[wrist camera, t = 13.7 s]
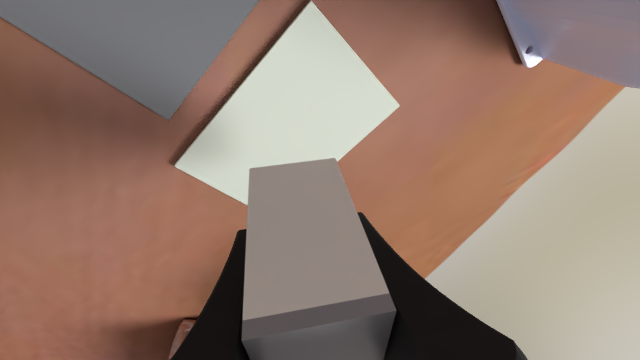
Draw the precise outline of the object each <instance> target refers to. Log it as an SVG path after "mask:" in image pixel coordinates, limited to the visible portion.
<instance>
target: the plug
mask: <svg viewBox="0 0 640 360" xmlns="http://www.w3.org/2000/svg"><path fill="white" fill-rule="evenodd" d="M395 314H396V308H395V306H394V303H393V301H392V298H391V296H390V293H389V291H388V288H387V286H386V283H385V281H384V278H383V276H382V273H381V271H380V268H379V266H378V263H377V261H376V258H375V256H374V253H373V251H372V248H371V246H370V243H369V241H368V238H367V236H366V233H365V231H364V228H363V226H362V223H361V221H360V218H359V216H358V213H357V211H356V208H355V206H354V203H353V201H352V199H351V196H350V194H349V191H348V189H347V186H346V184H345V181H344V179H343V176H342V174H341V171H340V169H339V166H338V164H337V161H336V159H335V158H329V159H321V160H313V161H305V162H297V163H289V164H281V165H273V166H265V167H257V168H249V189H248V211H247V232H246V254H245V276H244V298H243V320H242V343H243V345H244V347H245V349H246V351H247V353H248V356H249V358H250V360H383V359H384V355H385V352H386V348H387V344H388V340H389V337H390V333H391V329H392V325H393V322H394V318H395Z"/></svg>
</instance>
